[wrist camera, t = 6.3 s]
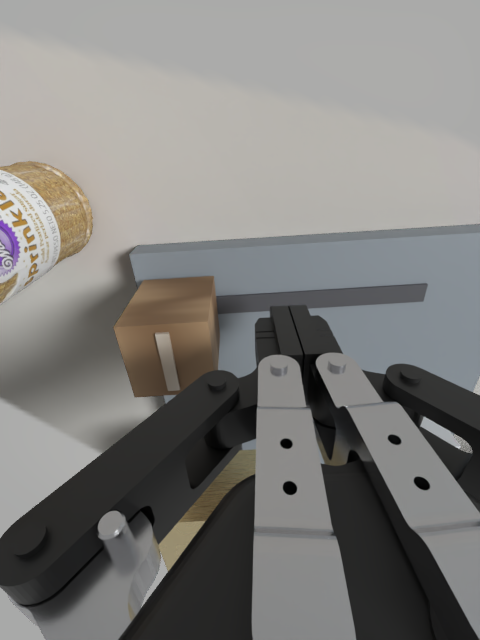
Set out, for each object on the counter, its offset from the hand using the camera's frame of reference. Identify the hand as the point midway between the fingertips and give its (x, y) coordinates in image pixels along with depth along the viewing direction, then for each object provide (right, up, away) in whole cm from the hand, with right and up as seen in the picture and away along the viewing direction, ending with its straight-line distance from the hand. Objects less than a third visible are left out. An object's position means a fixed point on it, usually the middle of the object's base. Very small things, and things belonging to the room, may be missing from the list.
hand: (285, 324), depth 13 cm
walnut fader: (-5, +1, +3) cm, 6 cm away
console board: (+3, -3, +7) cm, 8 cm away
